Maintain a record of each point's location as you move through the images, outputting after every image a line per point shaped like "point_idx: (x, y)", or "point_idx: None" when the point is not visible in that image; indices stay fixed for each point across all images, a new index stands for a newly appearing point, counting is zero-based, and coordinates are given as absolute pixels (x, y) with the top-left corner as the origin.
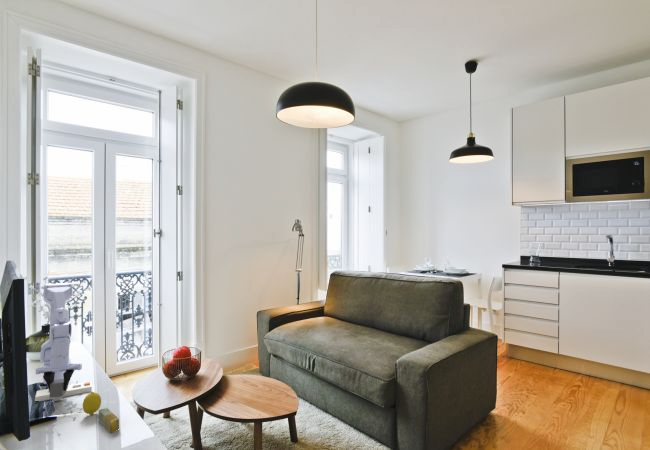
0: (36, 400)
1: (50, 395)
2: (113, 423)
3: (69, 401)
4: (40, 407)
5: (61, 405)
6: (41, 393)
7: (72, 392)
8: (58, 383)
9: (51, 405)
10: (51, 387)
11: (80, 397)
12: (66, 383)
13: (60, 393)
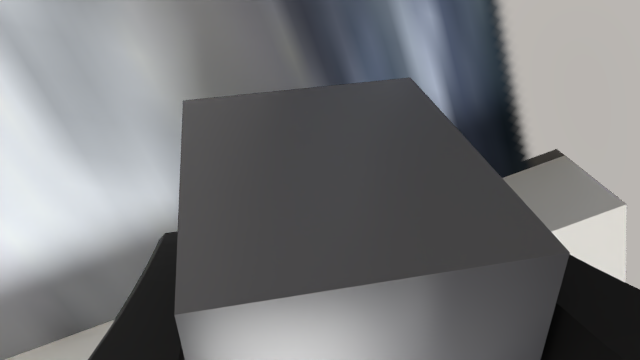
0: (576, 182)
1: (409, 96)
2: None
3: (116, 145)
4: (474, 13)
5: (170, 6)
6: None
7: None
8: (316, 281)
9: (338, 50)
10: (473, 190)
11: (18, 259)
12: (103, 345)
13: (218, 124)
